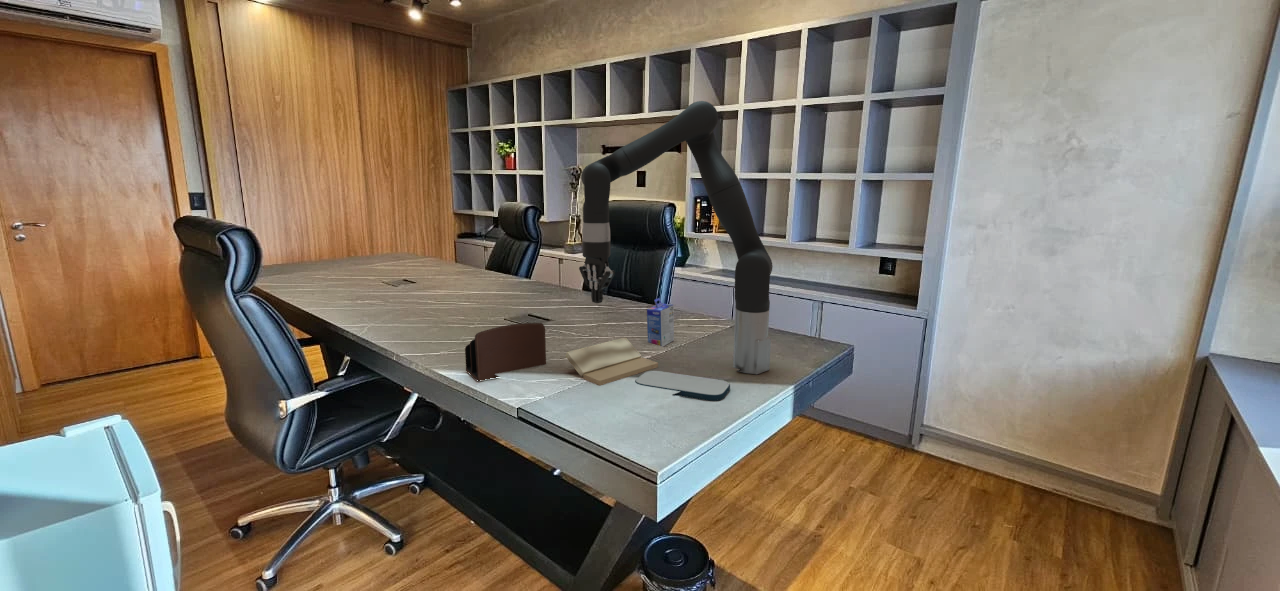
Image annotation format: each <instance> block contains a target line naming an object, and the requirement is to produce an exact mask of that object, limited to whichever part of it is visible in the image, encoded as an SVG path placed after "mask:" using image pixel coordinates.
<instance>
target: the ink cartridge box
mask: <svg viewBox="0 0 1280 591" xmlns="http://www.w3.org/2000/svg"><path fill="white" fill-rule="evenodd" d="M653 302H654V304H655V305H654V306H651V307H649V308H647V309H646V318H647V319H646V323H647V324H646V325H647V343H649V344H653V345H656V346H660V347H665V346H667V345H669V343H672V342H674V340H675V312H674V310H675V309H674V308H675V305H674V304H671V303H662V301H661V299H660V297H658V298H655V299H654V300H653ZM658 302H659V303H658Z"/></svg>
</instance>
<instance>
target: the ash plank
mask: <svg viewBox="0 0 1280 591" xmlns="http://www.w3.org/2000/svg"><path fill="white" fill-rule="evenodd" d="M641 357H642V354H640V352H639V351H638V349H636V348H635V346H633V344H632V343H631V342H630V341H629V340H628V338H626V337H622V338H616V339H614V340H609V341H605V342H601V343H598V344H594V345H588V346H585V347H582V348H577V349H572V350H570V351H567V352H566V354H565V358H566V359H567V360H568V362H569V363H570V365H571V366H572V367H573V368H574V369H575V370H576V373H578V375H579V376H580V378H584V377H583V374H587V373H590V372H594V371H597V370H600V369H604V368H607V367H611V366H614V365H617V364H621V363H624V362H628V361H631V360H635V359H638V358H641Z"/></svg>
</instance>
